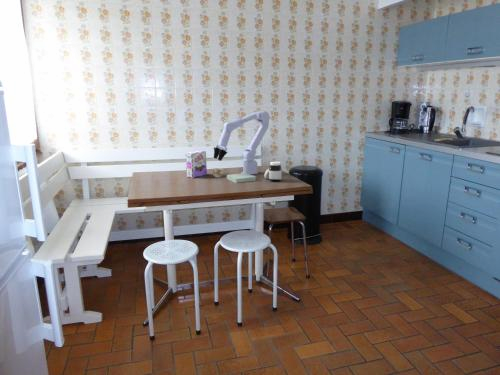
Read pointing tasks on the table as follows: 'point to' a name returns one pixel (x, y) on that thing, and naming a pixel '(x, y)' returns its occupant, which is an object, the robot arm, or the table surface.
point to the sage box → (241, 177)
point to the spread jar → (274, 172)
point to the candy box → (196, 164)
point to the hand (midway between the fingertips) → (217, 159)
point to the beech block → (218, 172)
